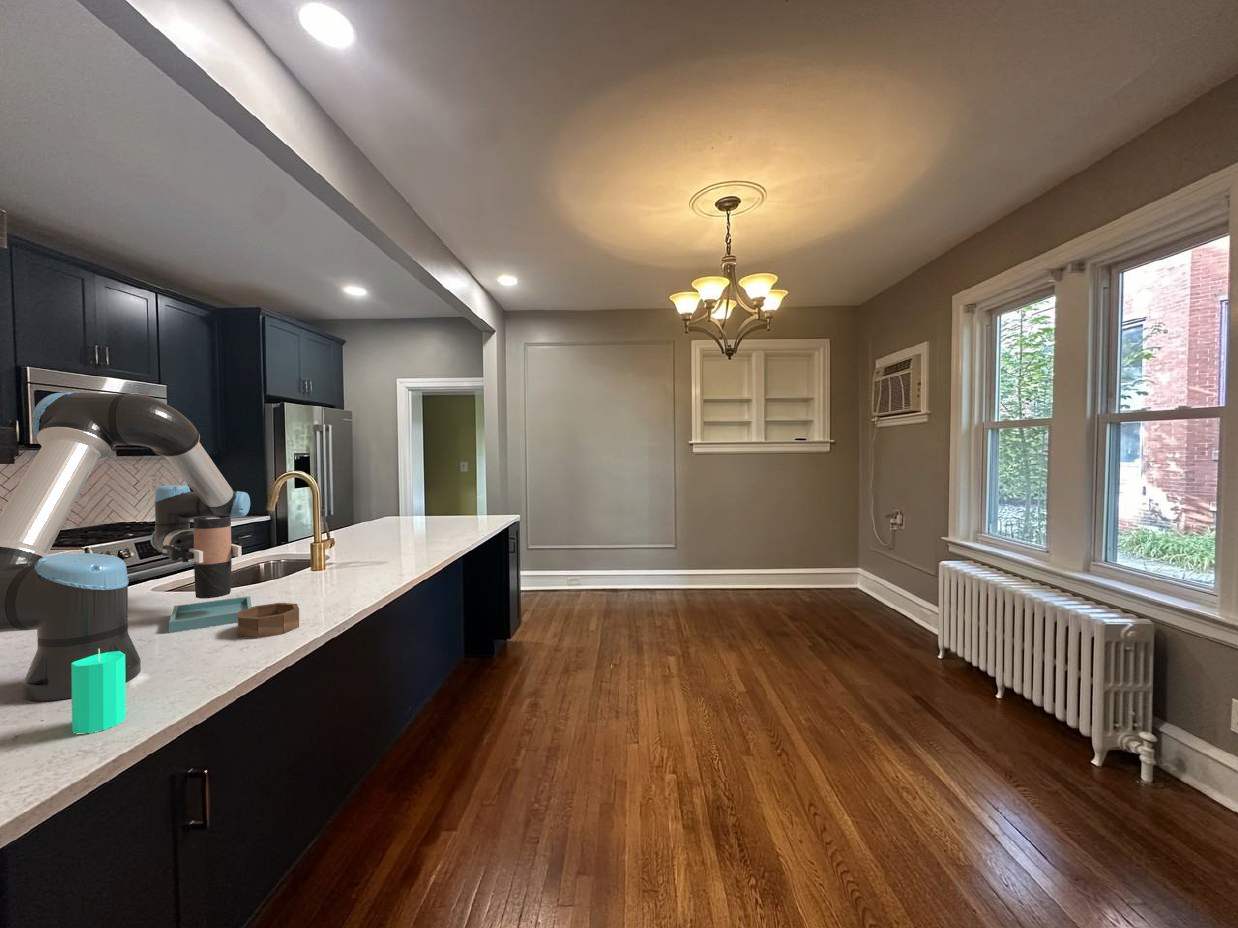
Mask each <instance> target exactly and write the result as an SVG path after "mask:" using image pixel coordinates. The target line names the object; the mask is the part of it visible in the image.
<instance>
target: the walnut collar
mask: <svg viewBox="0 0 1238 928" xmlns="http://www.w3.org/2000/svg"><path fill="white" fill-rule="evenodd" d="M297 628H300V608H299V604H298V603H290V602H276V603H269V604H267V603H266V604H261V605H256V606H255V605H254V606H252V607H251V608H249V609H246V610H243V611H240V612H238V623H237V635H238V636H237V637H238V638H248V639H261V638H267V637H273V636H279V635H280V636H281V635H285V634H286V633H288V632H291V631H293V630H296V629H297Z"/></svg>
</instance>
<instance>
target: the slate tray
mask: <svg viewBox="0 0 1238 928" xmlns="http://www.w3.org/2000/svg"><path fill="white" fill-rule="evenodd" d="M251 607H253V606H252V601H251V596H250V595H248V596H241V597H233V598H227V599H224V598H223V599H217V600H211V601H210V600H209V601H202V602H195V603H194V602H193V603H187V604H179V605H178V604H177V605H174V607H173V608H172V609H173V610H172V611H171V615H170V617H169V621H168V633H169V634H171V633H177V631H179V632H184V631H183V630H185V631H191V630H190V629H192V630H197V629H198V628H199V629H204V628H205V629H206V628H210V626H212V627H216V625H218V626H224V624H225V625H229V624H230V625H231V624H236V623H237V624H238V612H240V611H243V610H246V609H249V608H251Z"/></svg>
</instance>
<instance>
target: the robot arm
mask: <svg viewBox="0 0 1238 928" xmlns="http://www.w3.org/2000/svg"><path fill="white" fill-rule="evenodd" d="M31 418H33V421H31V428H32V430H33V431H32V432H33V433H34V436H36V440H37V442H38V444H39V445H40V446H41V447H40V449H39V451H38V452H37V454H36V456H35V457H34V459H33V460H32V462H31V463H30V465H29V467H28V469H27V470H26V471H25V473H24V475H23V477H22V478H21V480H20V481H19V483H18V485H17V486H16V487H15V489H14V491H13V493H12V494H11V496H10V497H9V499H8V501H7V502H6V504H5V506H4V507H3V509H2V511H1V512H0V633H4V632H5V633H7V632H21V631H35V630H36V634H37V635H36V636H37V648H36V652H35V655H34V656H33V659H32V661H31V663H30V666H29V668H28V671H27V673H26V675H25V678H24V681H23V684H22V697H23V698H24V699H25V700H29V701H35V702H37V701H40V702H43V701H44V702H46V701H56V700H57V701H58V700H59V701H60V700H65V699H72V669H71V663H73V662H75V661H78V660H81V659H84V658H87V657H90V656H93V655H96V654H98V649H100V654H101V653H107V652H115V651H120V652H122V653H124V654H125V683H126V682H129V681H130V680H133V679H134V678H136V677H137V676H138V675H140V673H141V670H142V669H141V667H142V665H141V662H142V661H141V658H140V655H139V653H138V651H137V650H136V649H137V648H136V647H135V645H134V642H133V641H132V639H131V637H130V635H129V626H128V625H129V615H128V614H129V606H128V605H129V597H128V595H129V589H128V588H129V582H130V581H129V577H128V570H127V569H128V568H127V564H126V562H125V561H124V560H123V559H122V558H120V557H118V556H115V555H111V554H106V553H105V554H104V553H103V554H102V553H93V552H92V553H90V552H89V553H88V552H87V553H86V552H85V553H60V554H52V555H48V554H49V552H50V551H51V549H52V546H53V545H54V543H55V542H56V539H57V537H58V535H59V533H60V531H61V530H62V527H63V526H64V524H65V521H66V520H67V518H68V516H69V515H70V512H71V511H72V509H73V507H74V505H75V503H76V501H77V499H78V497H79V495H80V493H81V492H82V489H83V488H84V486H85V484H86V482H87V480H88V478H89V476H90V475H91V472H92V471H93V469H94V467H95V465H96V464H97V462H101V461H104V460H106V459H108V458H109V457H110V456H111V454H112V452H113V451H114V449H115V447H116V446H141V447H145V448H150V449H151V450H152V451H153V452H154V453H155V454H156V455H159V456H160V457H161V456H162V457H165V458H166V460H167V461H168V462H169V463H170V465H171V466H172V467H173V468H174V469H175V471H177V473H178V474H179V476H180V477H181V478H182V479H183V480H184V481H185V483H186V484H187V485H183V484H182V485H181V484H179V485H177V484H176V485H170V484H169V485H161V486H157V487H156V489H155V492H154V503H153V504H154V521H155V525H154V531H153V532H152V534H151V535H150V544H151V546H152V547H153V548H154V549H156V550H157V551H158V552H160V553H162V557H163V556H164V557H167V558H169V559H170V560H171V561H174V562H175V561H178V560H179V559H181V562H182V563H189V561H192V562H194V561H195V562H198V563H203V551H200V550H196V549H194V530H191V528H190V527H191V526H190V525H191V519H194V518H196V517H202V516H204V517H206V518H214V517H216V516H218V515H228V516H230V517H231V519H234V518H243V517H245V516H247V515H248V514H249V512H250V507H251V499H250V495H249V494H248V492H245V491H239V490H237V491H234V490H233V488H232V486H230V484H229V483H228V481H227V480H226V479H225V477H224V475H223V474H222V473H221V471H220V470H219V468H218V467H217V466H216V464H215V462H214V461H213V460H212V458H211V457H210V455H209V453H207V451H206V449H205V448H204V447H203V446H202V443H201V442H200V439H201V436H200V433H199V431H198V429H197V428H196V427H195V426H194V423H193V422H191V421H190V420H189V419H188V418H187V417H186V416H185V415H183V413H181V412H179V410H177V409H175V408H174V407H172V406H170V405H169V404H167V403H165V402H163V401H162V400H159V399H157V398H154V397H151V396H148V395H144V394H136V393H107V392H106V393H105V392H104V393H102V392H83V391H69V392H55V393H51V394H49V395H47V396H45V397H44V398H42V399H41V400H40V401H39V402H38V403H37V405H36V406H35V408H34V409H33V412H32V416H31ZM190 489H191V490H192V491H191V490H190ZM231 553H232V557H235V558H241V557H242V555H243V554H242V542H241V541H237V540H231Z"/></svg>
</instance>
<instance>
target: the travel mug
mask: <svg viewBox="0 0 1238 928" xmlns="http://www.w3.org/2000/svg"><path fill="white" fill-rule="evenodd" d="M231 522H232V518H231V517H230V516H228V515H218V516H216V517H214V518H206V517H204V516H202V517H196V518H193V531H194V549H196V550H200V551H203V563H198V562H195V561H193V574H194V575H193V577H194V591H195V592H194V593H195V598H196V599H200V600H201V599H215V598H216V599H217V598H221V597H225V596H228V595H230V593H231V592H232V559H233V558H232V557H233V556H232V553H231V541H232V523H231Z"/></svg>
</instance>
